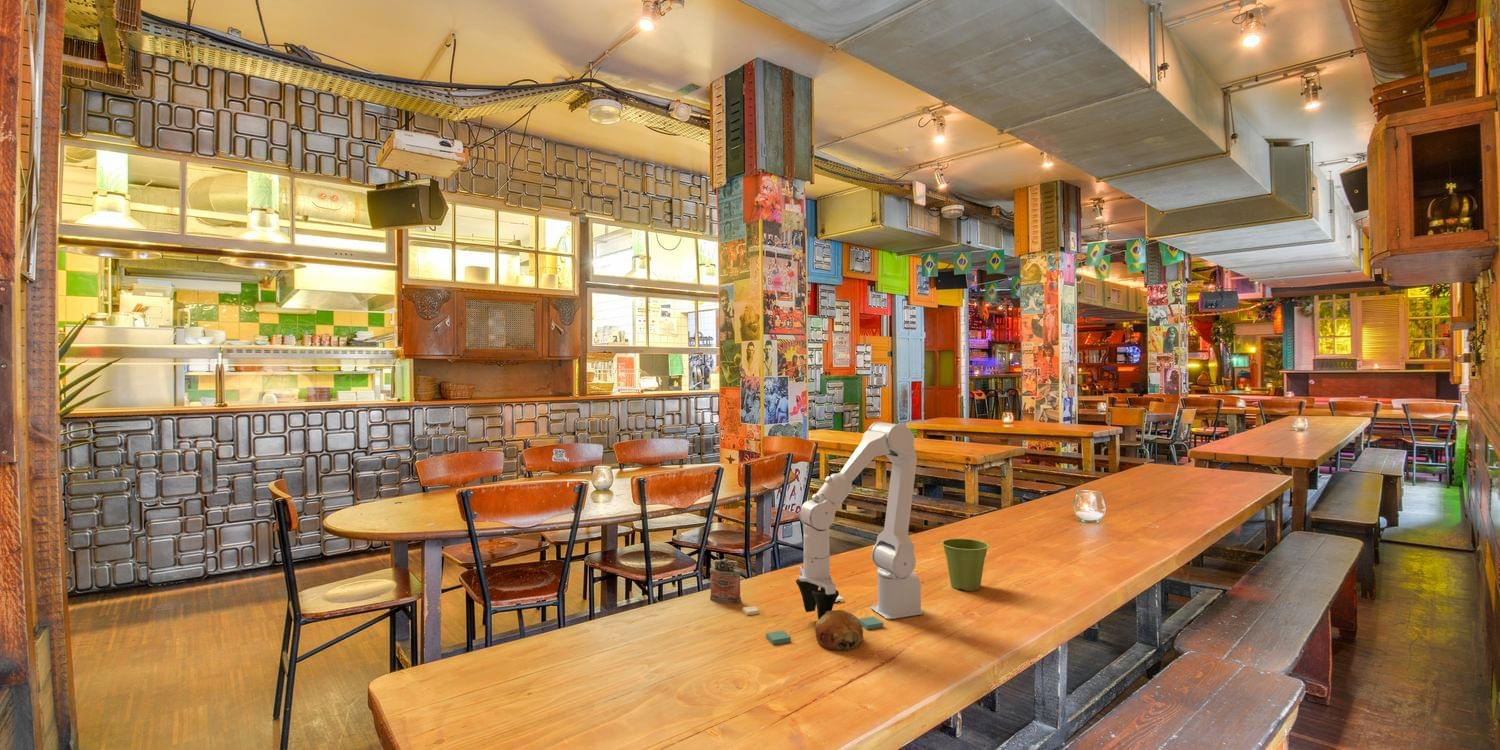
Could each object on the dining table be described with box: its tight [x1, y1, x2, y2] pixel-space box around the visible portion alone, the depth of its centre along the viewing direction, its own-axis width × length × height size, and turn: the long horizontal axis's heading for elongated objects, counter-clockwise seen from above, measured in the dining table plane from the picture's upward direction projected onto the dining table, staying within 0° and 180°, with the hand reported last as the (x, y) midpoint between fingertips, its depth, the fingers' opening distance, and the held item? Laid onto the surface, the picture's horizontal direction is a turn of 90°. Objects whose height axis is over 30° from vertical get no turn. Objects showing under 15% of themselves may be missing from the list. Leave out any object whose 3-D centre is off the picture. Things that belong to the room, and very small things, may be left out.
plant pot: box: [941, 537, 990, 592], centre depth 174 cm, size 12×12×11 cm
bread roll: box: [815, 609, 864, 651], centre depth 140 cm, size 10×10×8 cm
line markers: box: [742, 594, 884, 646], centre depth 152 cm, size 26×20×1 cm
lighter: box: [709, 558, 742, 604], centre depth 165 cm, size 8×3×10 cm, turn 68°
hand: (817, 616), depth 149 cm, fingers open, 7 cm apart
